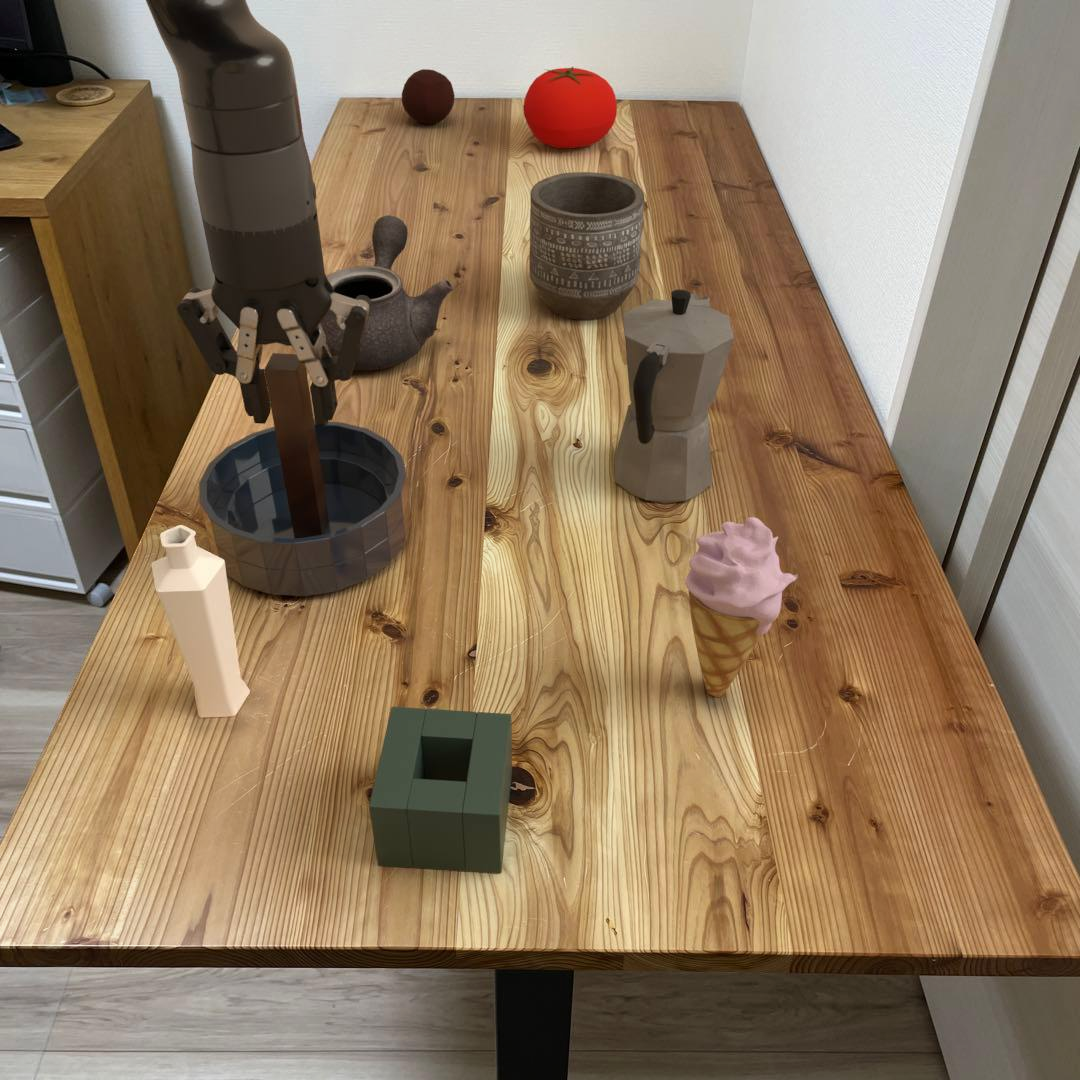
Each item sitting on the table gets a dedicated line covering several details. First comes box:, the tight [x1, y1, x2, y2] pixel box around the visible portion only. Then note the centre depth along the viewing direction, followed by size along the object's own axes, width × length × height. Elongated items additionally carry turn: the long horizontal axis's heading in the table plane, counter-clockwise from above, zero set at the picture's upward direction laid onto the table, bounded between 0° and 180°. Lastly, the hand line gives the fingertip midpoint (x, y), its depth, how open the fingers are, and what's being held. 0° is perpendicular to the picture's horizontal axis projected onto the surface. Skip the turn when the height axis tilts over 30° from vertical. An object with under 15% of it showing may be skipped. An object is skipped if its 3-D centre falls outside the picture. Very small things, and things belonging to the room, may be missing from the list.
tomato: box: [522, 66, 618, 149], centre depth 156 cm, size 14×13×10 cm
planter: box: [528, 171, 645, 321], centre depth 117 cm, size 12×12×13 cm
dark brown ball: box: [401, 68, 455, 125], centre depth 163 cm, size 8×9×8 cm
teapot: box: [320, 214, 454, 371], centre depth 112 cm, size 19×15×10 cm
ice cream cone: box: [685, 516, 799, 698], centre depth 72 cm, size 7×6×15 cm
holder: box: [368, 706, 513, 874], centre depth 66 cm, size 8×8×6 cm
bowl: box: [198, 420, 412, 597], centre depth 87 cm, size 16×16×6 cm
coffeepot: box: [613, 289, 735, 504], centre depth 90 cm, size 15×9×18 cm, turn 156°
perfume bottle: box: [151, 524, 251, 719], centre depth 71 cm, size 5×4×15 cm
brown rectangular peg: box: [263, 352, 329, 538], centre depth 84 cm, size 2×2×16 cm
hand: (293, 418), depth 82 cm, fingers open, 4 cm apart
